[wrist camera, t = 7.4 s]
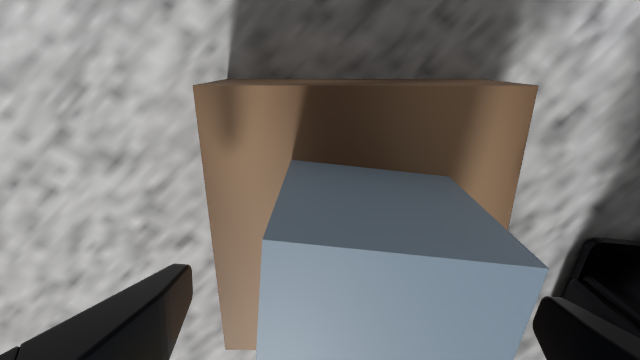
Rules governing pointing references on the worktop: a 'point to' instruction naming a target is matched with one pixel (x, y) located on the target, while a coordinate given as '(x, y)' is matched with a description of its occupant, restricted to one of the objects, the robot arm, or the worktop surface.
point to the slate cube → (389, 270)
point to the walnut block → (344, 154)
